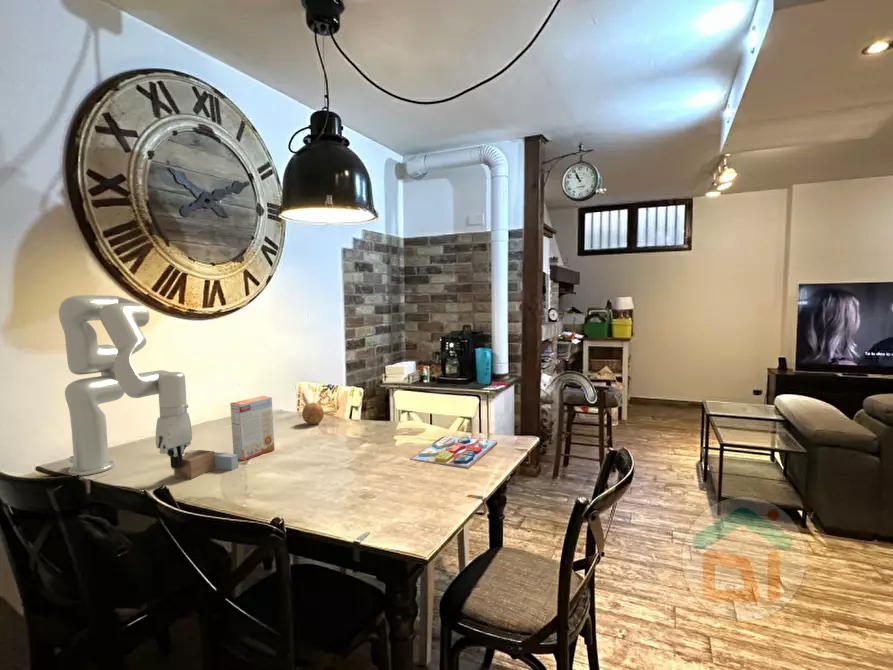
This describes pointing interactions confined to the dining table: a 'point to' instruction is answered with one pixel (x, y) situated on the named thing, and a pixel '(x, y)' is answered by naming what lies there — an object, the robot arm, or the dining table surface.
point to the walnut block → (196, 464)
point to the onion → (313, 413)
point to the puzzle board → (455, 451)
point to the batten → (224, 460)
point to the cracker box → (252, 427)
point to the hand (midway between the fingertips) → (176, 467)
